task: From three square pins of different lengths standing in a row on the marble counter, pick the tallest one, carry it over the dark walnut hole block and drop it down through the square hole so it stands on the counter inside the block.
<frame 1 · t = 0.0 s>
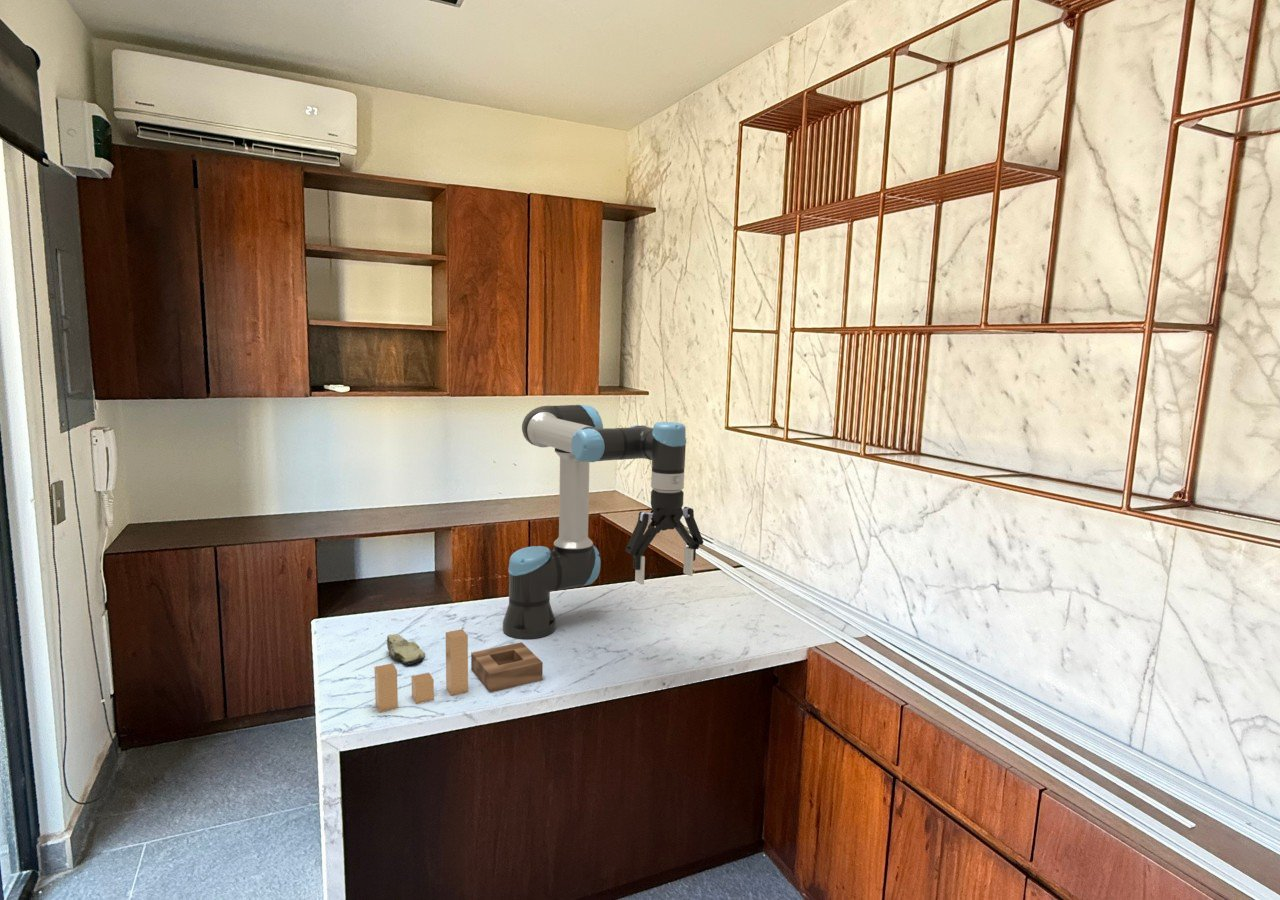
hand: (664, 578, 162), 28 cm above the table, fingers open, 13 cm apart
rock: (404, 659, 180), on the table
medium pin: (386, 706, 156), on the table
hole block: (506, 674, 172), on the table
long pin: (457, 690, 164), on the table
short pin: (422, 698, 160), on the table
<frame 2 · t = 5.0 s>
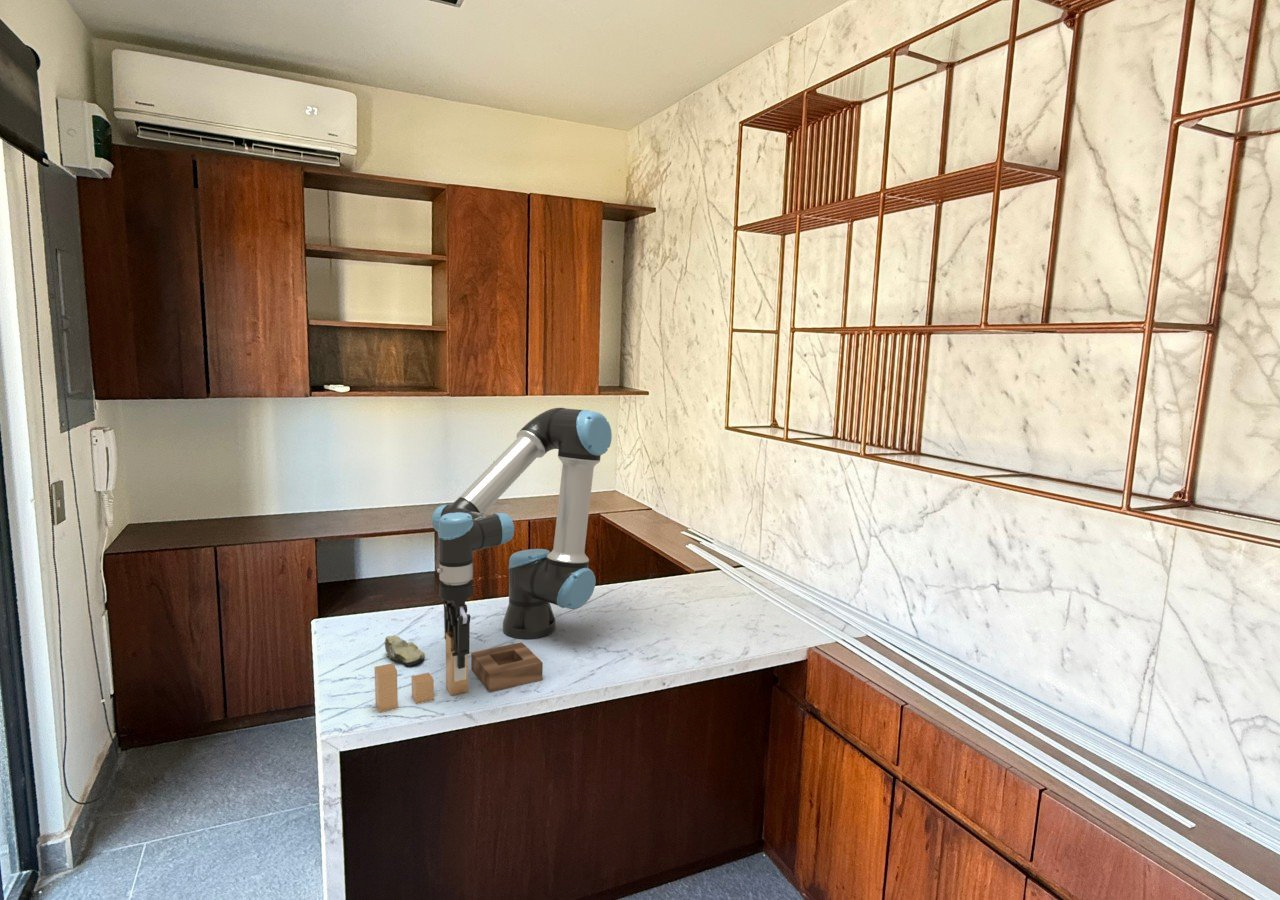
hand: (456, 675, 163), 4 cm above the table, fingers closed on long pin, 4 cm apart
long pin: (457, 690, 164), on the table, touching gripper
when the fingers open (7 cm above the table, at t = 9.5 s): long pin drops 3 cm, resting in hole block.
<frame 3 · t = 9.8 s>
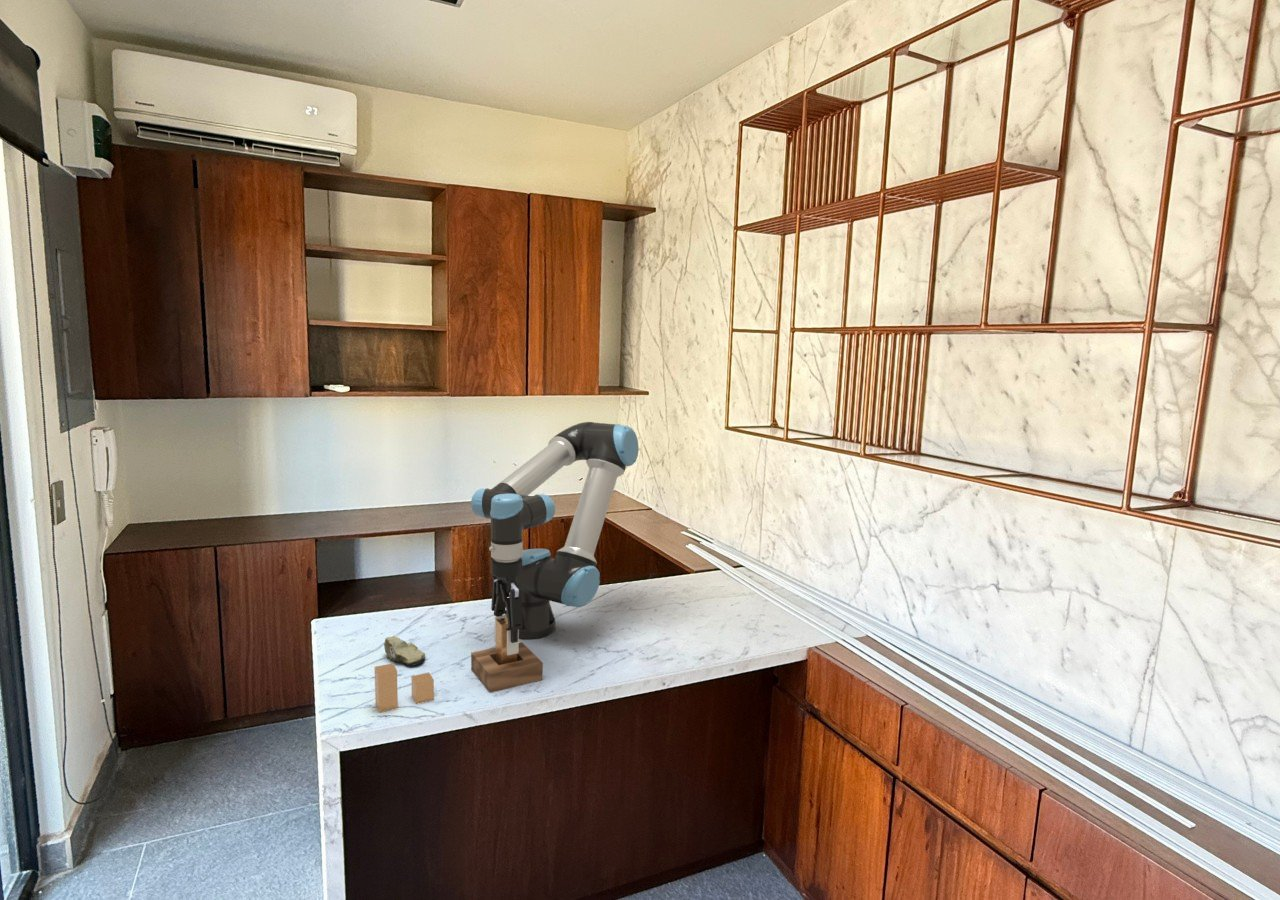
hand: (506, 647, 171), 7 cm above the table, fingers open, 8 cm apart
long pin: (506, 674, 172), resting in hole block
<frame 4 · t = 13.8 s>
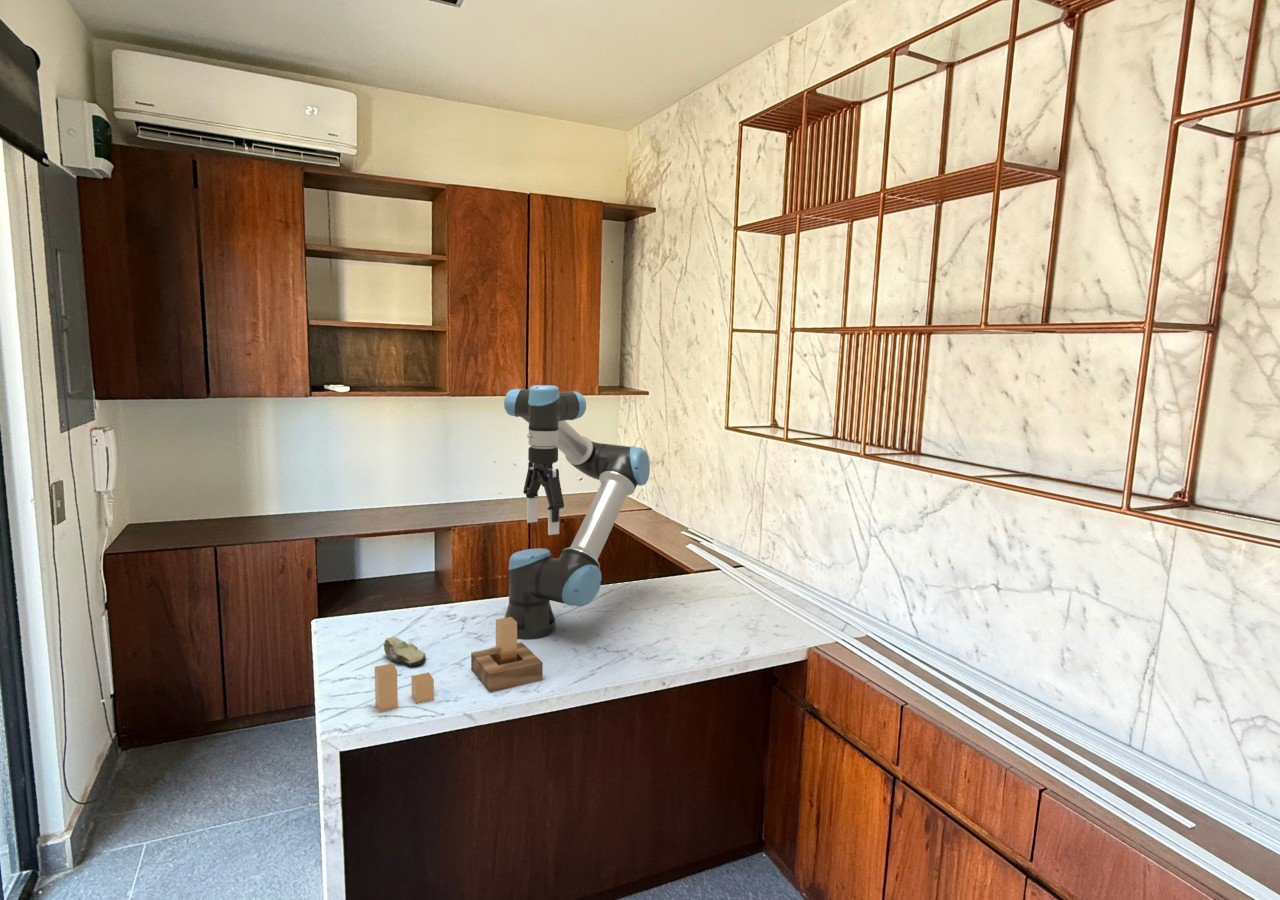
hand: (542, 528, 179), 35 cm above the table, fingers open, 13 cm apart
at the end: long pin 0.0 cm off-centre on the hole block, point 0.0 cm above the hole block's base; long pin tilted 0°; the gripper is holding nothing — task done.
